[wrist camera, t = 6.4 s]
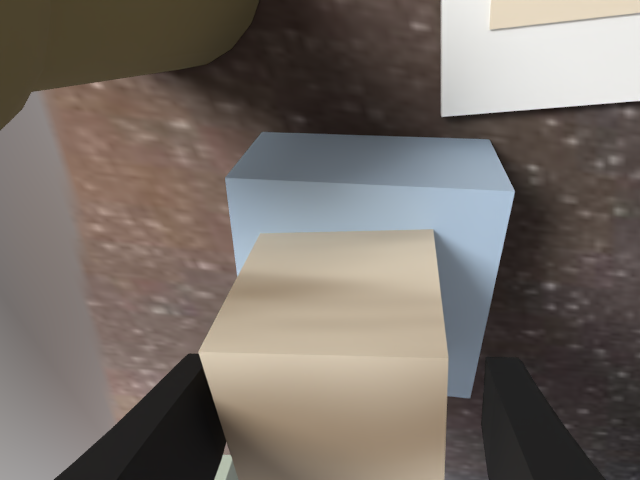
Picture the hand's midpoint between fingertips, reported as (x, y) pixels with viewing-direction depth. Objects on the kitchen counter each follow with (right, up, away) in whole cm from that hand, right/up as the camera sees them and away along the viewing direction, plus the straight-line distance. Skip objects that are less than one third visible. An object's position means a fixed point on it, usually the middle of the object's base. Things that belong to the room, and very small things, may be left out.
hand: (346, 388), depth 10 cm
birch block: (0, +2, +3) cm, 3 cm away
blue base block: (+1, +4, +6) cm, 7 cm away
